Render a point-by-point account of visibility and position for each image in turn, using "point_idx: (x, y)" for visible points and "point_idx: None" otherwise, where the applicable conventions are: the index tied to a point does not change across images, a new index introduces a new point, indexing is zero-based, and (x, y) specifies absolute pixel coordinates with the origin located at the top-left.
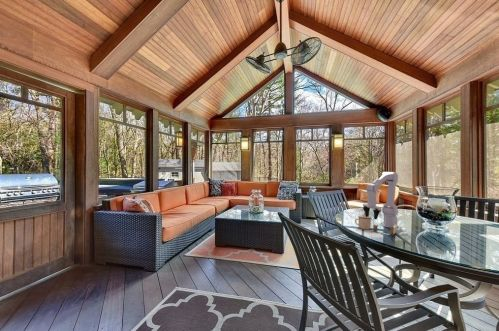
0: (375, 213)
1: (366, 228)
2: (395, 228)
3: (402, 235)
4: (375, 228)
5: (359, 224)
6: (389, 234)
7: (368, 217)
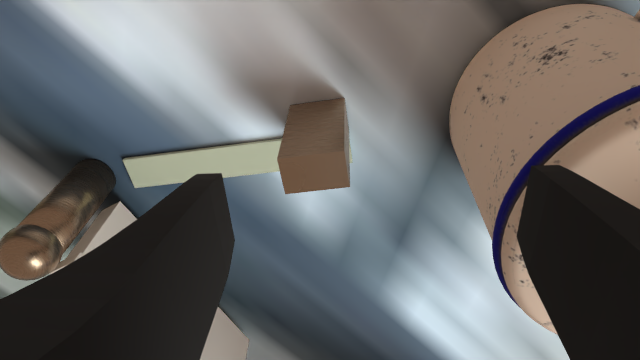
0: (21, 290)
1: (467, 70)
2: None
3: None
4: (297, 129)
5: (634, 20)
6: (137, 185)
7: None
